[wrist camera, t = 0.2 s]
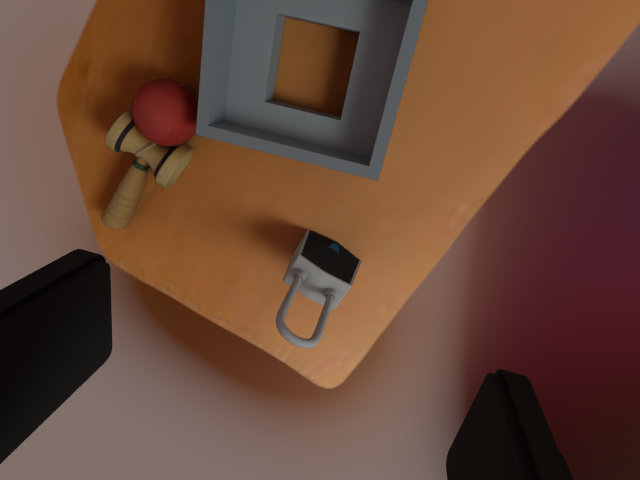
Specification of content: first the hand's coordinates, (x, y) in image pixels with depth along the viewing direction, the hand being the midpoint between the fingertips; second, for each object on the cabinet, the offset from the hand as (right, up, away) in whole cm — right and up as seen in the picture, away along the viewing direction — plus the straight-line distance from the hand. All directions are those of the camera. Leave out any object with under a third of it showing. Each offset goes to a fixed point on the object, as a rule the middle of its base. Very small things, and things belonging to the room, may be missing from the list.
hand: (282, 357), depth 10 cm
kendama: (-16, +12, +33) cm, 38 cm away
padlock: (+2, +1, +33) cm, 33 cm away
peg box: (0, +18, +26) cm, 32 cm away
